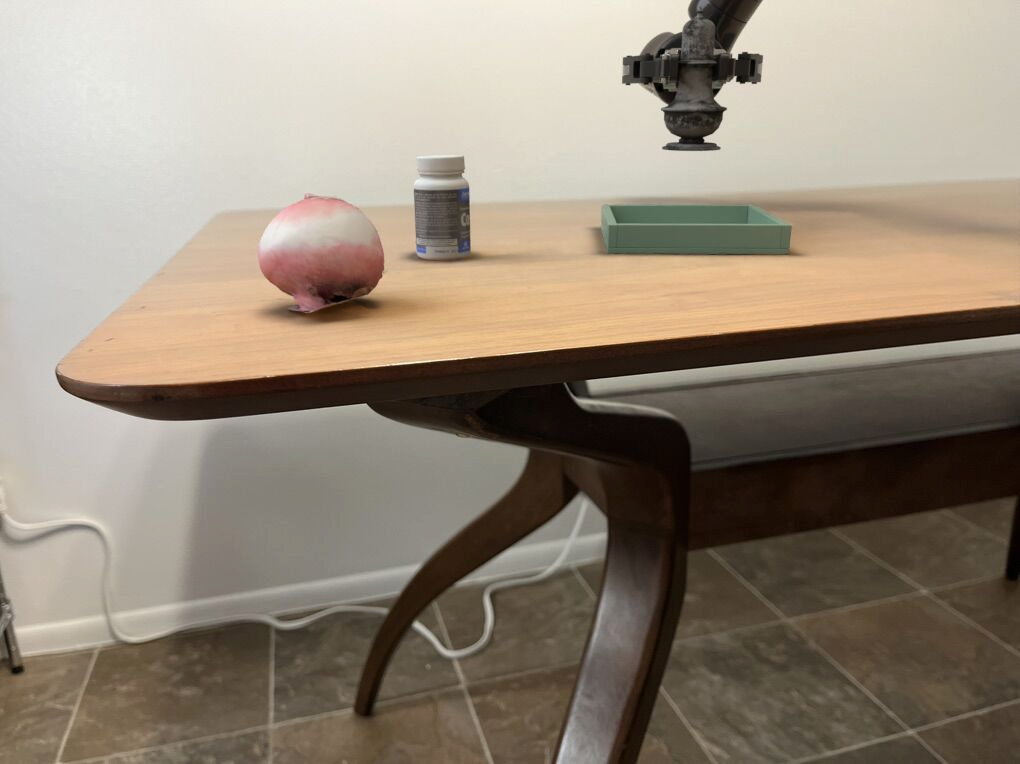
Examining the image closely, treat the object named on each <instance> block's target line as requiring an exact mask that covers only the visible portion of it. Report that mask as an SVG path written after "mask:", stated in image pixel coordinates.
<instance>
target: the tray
mask: <svg viewBox="0 0 1020 764" xmlns="http://www.w3.org/2000/svg"><path fill="white" fill-rule="evenodd" d="M600 213H601V214H600V216H601V217H600V230H601V234H602V236H603V241H604V245H605V248H606V252H607V254H645V255H647V254H649V255H650V254H654V255H656V254H658V255H660V254H661V255H663V254H664V255H665V254H667V255H668V254H670V255H671V254H673V255H674V254H675V255H677V254H679V255H789V254H790V247H791V240H792V239H791V237H792V231H793V229H792V228H793V225H792V224H790V223H789V222H787V221H785V220H784V219H781V218H780V217H778V216H776V215H775V214H772V213H770V212H769V211H767V210H765V209H764V208H762V207H759V206H757V205H756V204H601V211H600Z"/></svg>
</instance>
